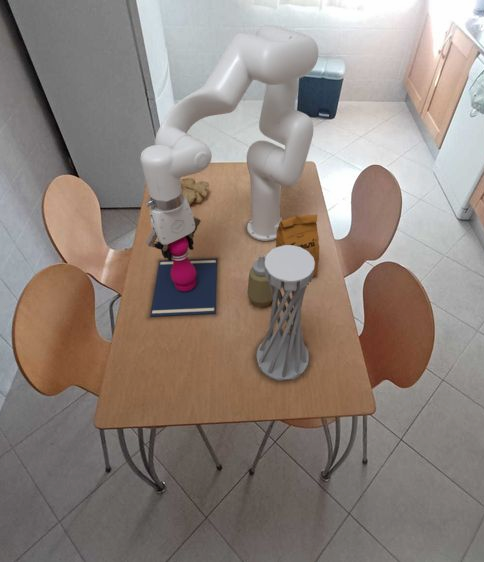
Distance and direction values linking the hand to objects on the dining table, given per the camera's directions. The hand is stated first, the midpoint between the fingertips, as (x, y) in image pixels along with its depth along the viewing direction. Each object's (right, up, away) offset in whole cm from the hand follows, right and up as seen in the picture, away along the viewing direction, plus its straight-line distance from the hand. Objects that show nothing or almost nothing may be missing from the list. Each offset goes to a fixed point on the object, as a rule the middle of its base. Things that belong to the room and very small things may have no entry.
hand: (178, 252), depth 106 cm
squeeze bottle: (+22, -14, +8) cm, 27 cm away
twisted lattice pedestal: (+28, -28, -5) cm, 40 cm away
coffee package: (+33, -5, +15) cm, 36 cm away
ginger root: (-6, +23, +39) cm, 46 cm away
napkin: (0, -9, +10) cm, 14 cm away
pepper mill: (0, -9, +10) cm, 13 cm away
